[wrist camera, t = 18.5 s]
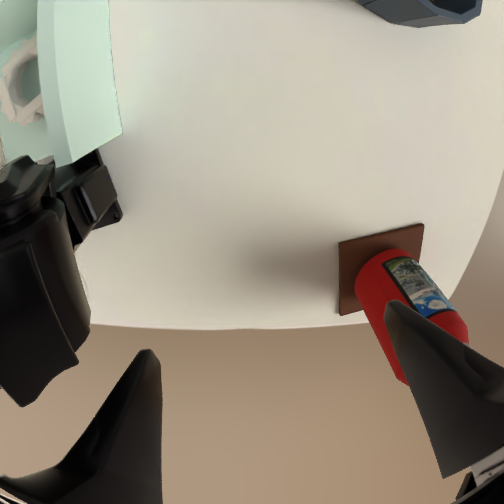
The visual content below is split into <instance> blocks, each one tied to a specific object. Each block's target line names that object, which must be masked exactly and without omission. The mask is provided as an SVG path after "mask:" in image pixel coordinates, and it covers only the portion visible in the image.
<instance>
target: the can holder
mask: <svg viewBox="0 0 504 504" xmlns="http://www.w3.org/2000/svg"><path fill="white" fill-rule="evenodd" d="M358 1H359V3H360V4H361V5H363V7H365V8H367V9H369V10H370V11H372V12H374V13H376V14H377V15H379V16H381V17H382V18H384V19H385V20H387V21H389V22H390V23H393V24H398V25H405V26H411V27H417V28H420V27H428V26H437V25H448V24H465V23H467V22H468V21H470V20H472V19H474V18H475V17H477V16H479V15H480V14H481V7H482V0H434V1H433V3H431V2H430V1H429V0H358Z"/></svg>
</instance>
